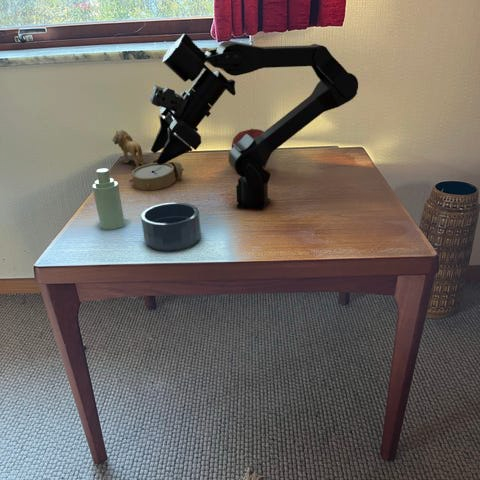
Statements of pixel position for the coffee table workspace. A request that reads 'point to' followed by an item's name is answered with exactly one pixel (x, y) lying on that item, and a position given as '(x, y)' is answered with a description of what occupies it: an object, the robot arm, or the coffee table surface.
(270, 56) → the robot arm
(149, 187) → the alarm clock
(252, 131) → the apple
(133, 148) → the lion figurine
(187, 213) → the pot
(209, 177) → the coffee table surface
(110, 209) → the capped bottle
